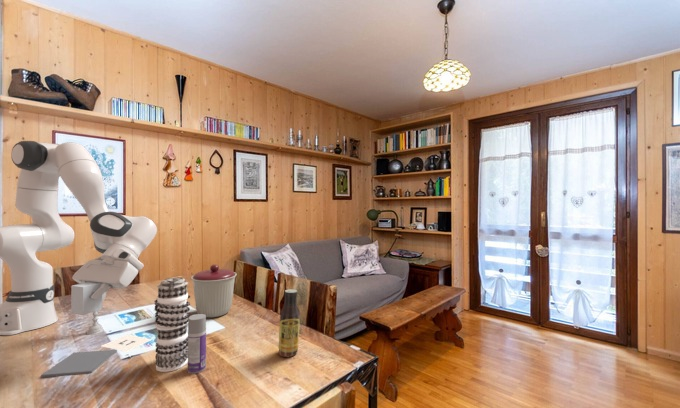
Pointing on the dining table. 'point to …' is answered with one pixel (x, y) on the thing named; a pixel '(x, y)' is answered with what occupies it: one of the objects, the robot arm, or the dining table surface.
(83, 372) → the slate coaster
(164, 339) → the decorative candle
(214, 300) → the canister
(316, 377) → the dining table surface
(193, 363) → the container
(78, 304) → the grey blue block
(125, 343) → the card
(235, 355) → the dining table surface
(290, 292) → the sauce bottle
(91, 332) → the chalice
